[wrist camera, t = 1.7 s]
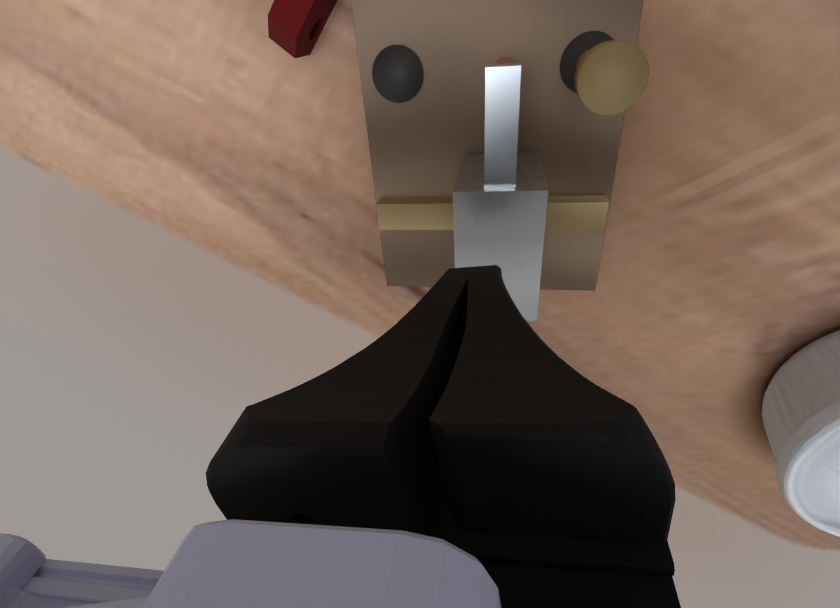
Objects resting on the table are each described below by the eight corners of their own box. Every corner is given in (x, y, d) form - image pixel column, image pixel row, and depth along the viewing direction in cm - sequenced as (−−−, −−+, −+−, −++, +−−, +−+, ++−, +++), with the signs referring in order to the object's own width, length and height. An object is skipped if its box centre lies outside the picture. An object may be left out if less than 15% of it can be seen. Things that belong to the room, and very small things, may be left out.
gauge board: (591, 279, 22) (613, 351, 17) (391, 275, 24) (363, 339, 19) (646, -63, 15) (707, -93, 10) (354, -34, 16) (296, -48, 12)
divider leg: (531, 264, 20) (536, 321, 17) (465, 263, 21) (456, 318, 17) (547, 50, 16) (559, 64, 12) (462, 56, 16) (449, 71, 13)
